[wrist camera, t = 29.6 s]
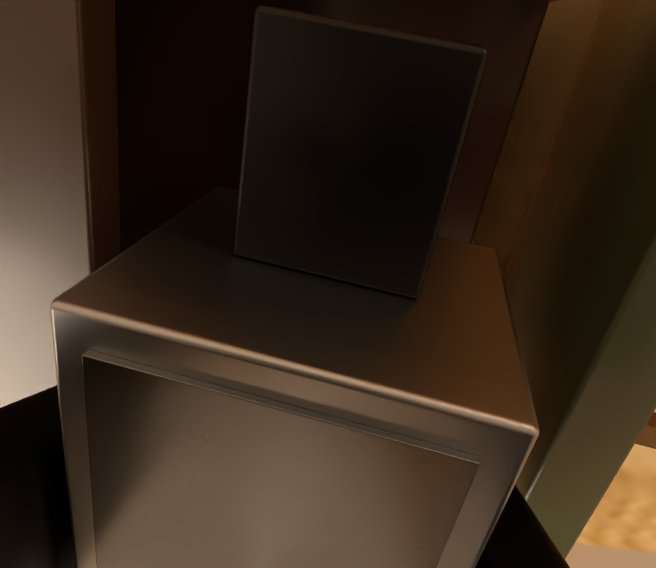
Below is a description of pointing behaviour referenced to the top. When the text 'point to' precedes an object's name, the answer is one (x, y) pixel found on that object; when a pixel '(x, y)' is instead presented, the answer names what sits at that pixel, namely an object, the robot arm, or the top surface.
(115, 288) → the perfume bottle
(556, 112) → the top surface
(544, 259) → the drawer
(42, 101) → the cabinet
